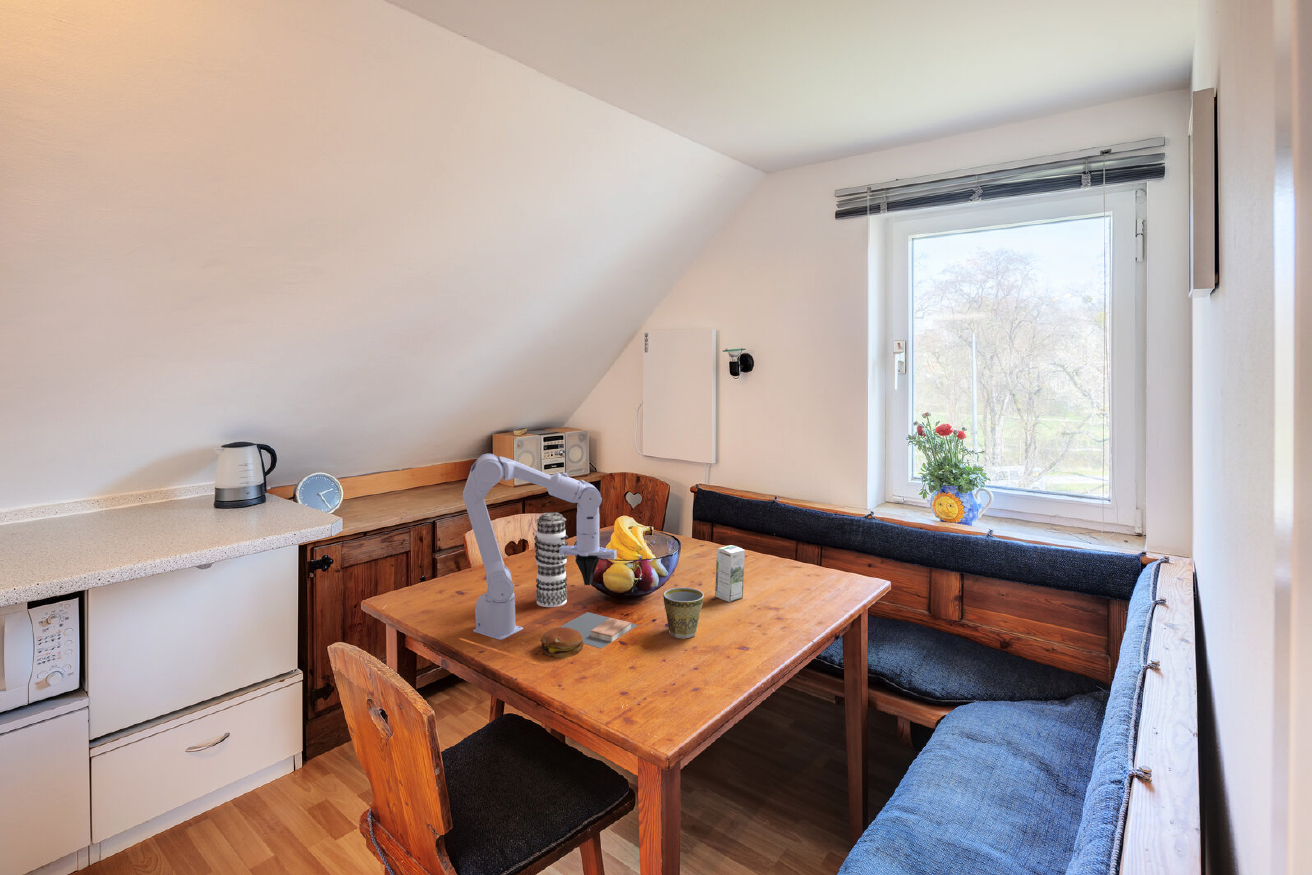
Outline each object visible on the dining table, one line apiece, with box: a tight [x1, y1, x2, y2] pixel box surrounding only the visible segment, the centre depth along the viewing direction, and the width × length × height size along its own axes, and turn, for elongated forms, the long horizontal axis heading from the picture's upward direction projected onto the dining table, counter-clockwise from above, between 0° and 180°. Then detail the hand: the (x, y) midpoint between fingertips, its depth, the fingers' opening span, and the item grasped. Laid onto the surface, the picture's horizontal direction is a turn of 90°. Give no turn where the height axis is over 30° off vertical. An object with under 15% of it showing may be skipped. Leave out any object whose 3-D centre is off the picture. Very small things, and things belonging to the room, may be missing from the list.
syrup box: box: [714, 544, 746, 603], centre depth 189 cm, size 6×6×14 cm
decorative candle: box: [534, 511, 569, 608], centre depth 183 cm, size 9×9×25 cm
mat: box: [560, 611, 639, 649], centre depth 167 cm, size 16×16×1 cm
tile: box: [591, 617, 632, 643], centre depth 164 cm, size 9×2×6 cm
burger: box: [540, 626, 585, 659], centre depth 155 cm, size 10×9×5 cm
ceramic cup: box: [662, 587, 705, 640], centre depth 166 cm, size 13×10×10 cm
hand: (588, 583), depth 170 cm, fingers closed
